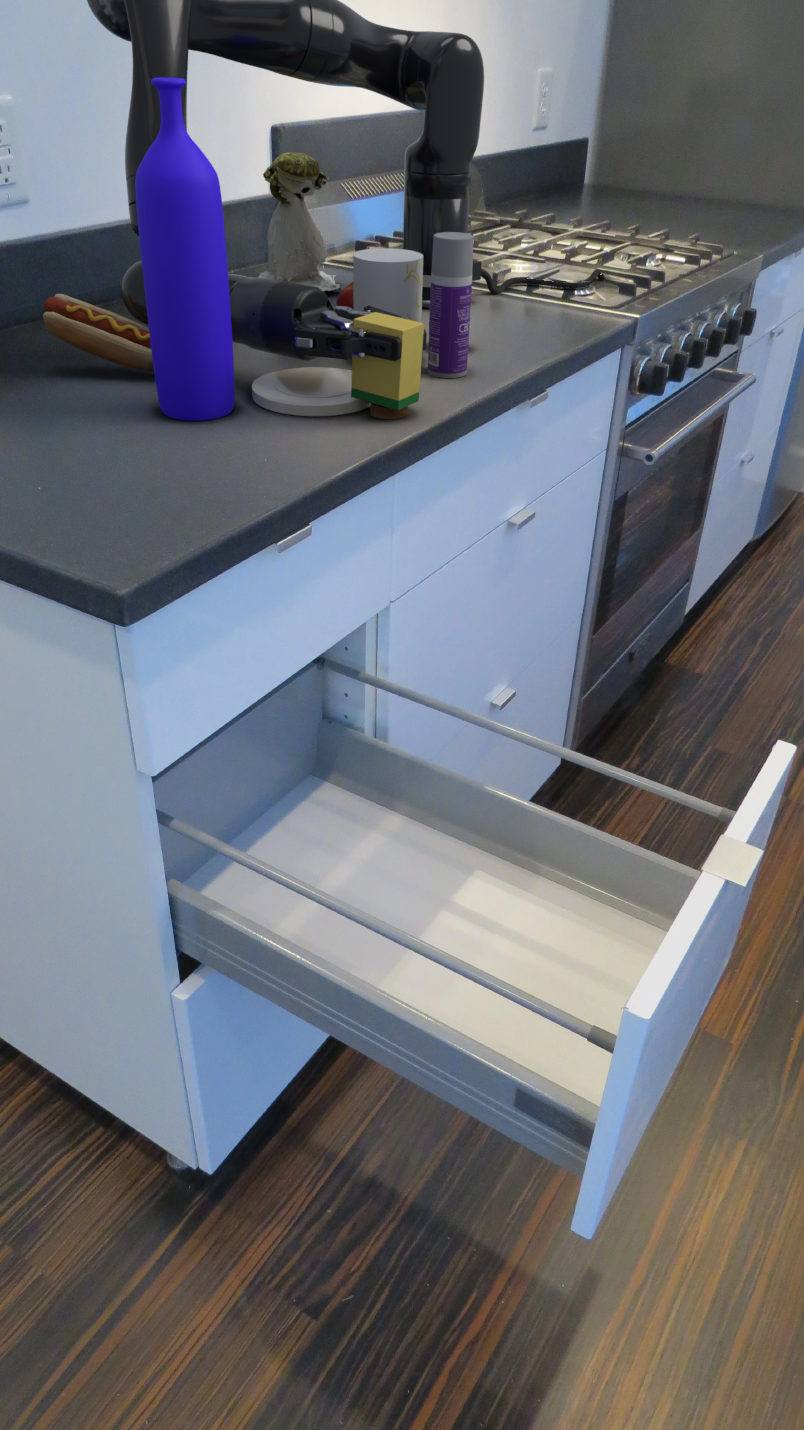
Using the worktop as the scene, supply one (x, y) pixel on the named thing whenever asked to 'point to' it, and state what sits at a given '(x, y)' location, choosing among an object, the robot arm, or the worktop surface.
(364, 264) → the white cylinder
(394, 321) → the sponge
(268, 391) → the plate
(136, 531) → the worktop surface
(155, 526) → the worktop surface
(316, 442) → the worktop surface
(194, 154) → the bottle
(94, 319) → the food
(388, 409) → the biscuit
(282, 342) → the robot arm
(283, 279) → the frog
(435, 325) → the container
